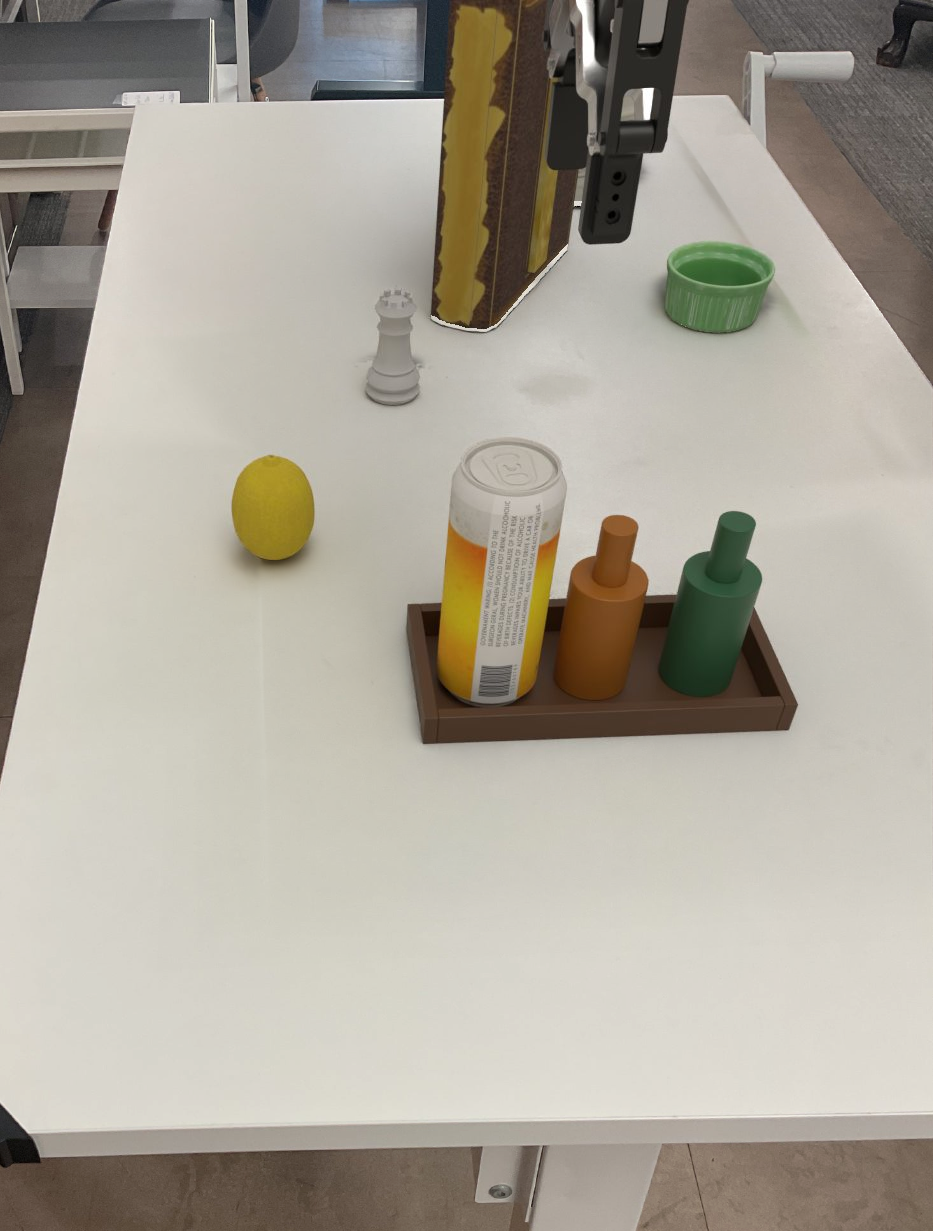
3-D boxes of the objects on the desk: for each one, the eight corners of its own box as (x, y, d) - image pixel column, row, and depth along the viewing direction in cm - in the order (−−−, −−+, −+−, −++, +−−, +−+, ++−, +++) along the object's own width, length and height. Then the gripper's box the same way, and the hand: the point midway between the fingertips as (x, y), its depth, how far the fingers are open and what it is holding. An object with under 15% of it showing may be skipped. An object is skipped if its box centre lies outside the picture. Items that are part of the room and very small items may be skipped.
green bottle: (720, 648, 78) (765, 497, 70) (739, 695, 75) (789, 543, 67) (650, 651, 78) (688, 499, 70) (667, 698, 75) (708, 545, 67)
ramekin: (639, 299, 112) (648, 249, 109) (728, 283, 114) (740, 234, 110) (689, 344, 106) (701, 293, 103) (782, 328, 108) (796, 277, 105)
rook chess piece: (379, 412, 99) (382, 313, 93) (355, 386, 102) (357, 289, 96) (429, 399, 100) (435, 301, 94) (404, 374, 103) (409, 278, 97)
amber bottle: (617, 652, 78) (651, 500, 70) (632, 699, 75) (669, 547, 67) (547, 655, 78) (572, 503, 70) (560, 702, 75) (588, 550, 67)
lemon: (318, 581, 84) (317, 477, 79) (236, 586, 84) (229, 482, 78) (312, 534, 88) (310, 431, 82) (233, 538, 88) (226, 435, 82)
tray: (737, 624, 81) (748, 591, 79) (786, 737, 74) (798, 704, 72) (405, 636, 81) (407, 603, 79) (422, 751, 73) (424, 718, 72)
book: (500, 339, 107) (537, 0, 88) (410, 318, 110) (427, -15, 91) (589, 241, 120) (636, -73, 101) (506, 224, 123) (538, -84, 104)
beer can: (519, 643, 79) (550, 427, 68) (547, 707, 75) (585, 489, 64) (425, 654, 78) (441, 439, 67) (449, 719, 74) (469, 502, 63)
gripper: (803, -220, 42) (702, 265, 54) (694, -283, 51) (629, 141, 63) (580, -210, 42) (529, 273, 54) (512, -276, 51) (482, 148, 63)
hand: (583, 201), depth 59 cm, fingers open, 8 cm apart
